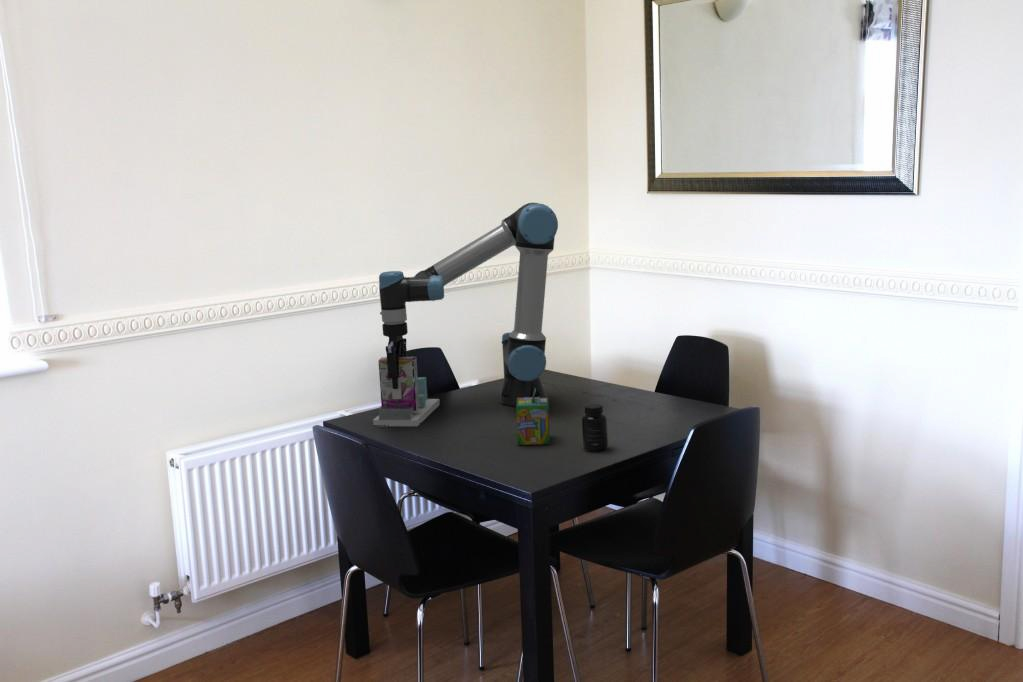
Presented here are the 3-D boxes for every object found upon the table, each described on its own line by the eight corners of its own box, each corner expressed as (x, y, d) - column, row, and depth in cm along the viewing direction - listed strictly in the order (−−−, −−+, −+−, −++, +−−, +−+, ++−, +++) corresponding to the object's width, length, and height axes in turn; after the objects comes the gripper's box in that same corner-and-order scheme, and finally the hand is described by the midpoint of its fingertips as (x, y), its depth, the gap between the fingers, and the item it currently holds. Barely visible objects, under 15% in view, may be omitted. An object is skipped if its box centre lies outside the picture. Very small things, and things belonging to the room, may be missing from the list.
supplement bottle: (582, 445, 255) (581, 402, 252) (608, 444, 254) (606, 402, 252) (582, 452, 248) (580, 409, 246) (608, 452, 247) (606, 408, 245)
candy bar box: (381, 412, 287) (377, 360, 284) (385, 408, 292) (381, 356, 289) (417, 411, 285) (413, 359, 283) (420, 407, 290) (416, 355, 287)
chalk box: (517, 436, 266) (515, 386, 263) (550, 435, 266) (547, 384, 263) (517, 446, 257) (514, 394, 254) (550, 444, 256) (548, 392, 254)
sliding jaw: (404, 398, 308) (402, 377, 307) (433, 398, 306) (431, 377, 305) (392, 407, 297) (391, 386, 295) (423, 407, 295) (421, 385, 293)
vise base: (398, 404, 309) (397, 388, 308) (439, 404, 306) (438, 388, 305) (373, 426, 284) (372, 408, 283) (417, 426, 282) (416, 408, 281)
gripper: (392, 317, 293) (397, 389, 297) (372, 327, 275) (378, 403, 280) (415, 317, 292) (420, 389, 296) (397, 327, 274) (402, 403, 278)
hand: (400, 396), depth 288 cm, fingers closed on candy bar box, 5 cm apart
